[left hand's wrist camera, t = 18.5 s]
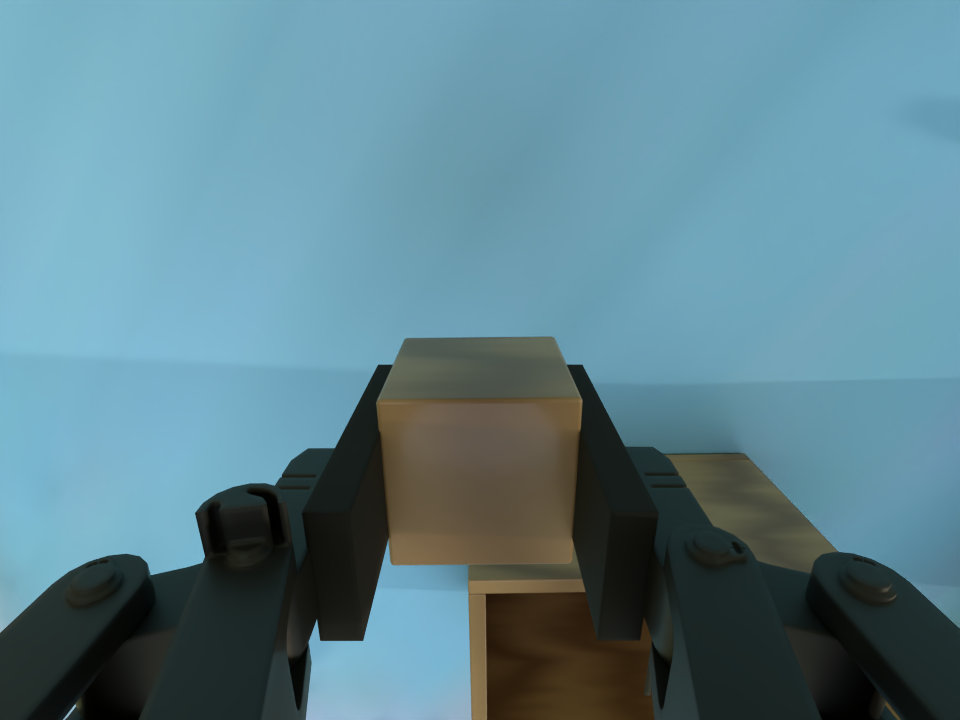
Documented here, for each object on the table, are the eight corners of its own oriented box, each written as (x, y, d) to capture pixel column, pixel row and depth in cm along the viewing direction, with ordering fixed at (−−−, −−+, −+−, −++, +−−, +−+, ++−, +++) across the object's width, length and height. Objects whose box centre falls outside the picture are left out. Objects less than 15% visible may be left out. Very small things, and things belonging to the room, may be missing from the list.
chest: (473, 592, 34) (472, 748, 24) (470, 457, 30) (468, 580, 21) (719, 588, 34) (809, 743, 25) (744, 453, 30) (861, 575, 21)
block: (412, 467, 16) (389, 567, 12) (404, 337, 14) (375, 400, 10) (549, 466, 16) (572, 565, 12) (554, 335, 14) (584, 398, 10)
